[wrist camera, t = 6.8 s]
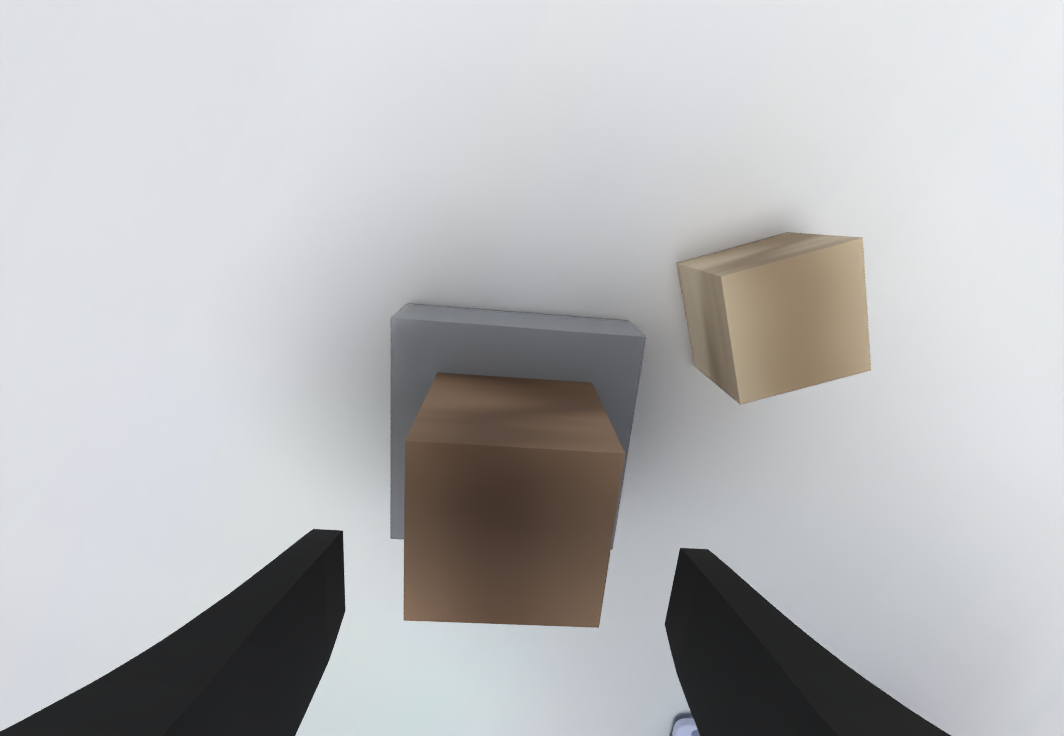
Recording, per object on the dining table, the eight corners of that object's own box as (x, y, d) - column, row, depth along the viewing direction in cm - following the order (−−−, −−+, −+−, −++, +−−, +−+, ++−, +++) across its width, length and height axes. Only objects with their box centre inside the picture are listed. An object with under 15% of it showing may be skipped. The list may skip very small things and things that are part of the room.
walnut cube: (592, 382, 16) (625, 453, 11) (575, 515, 18) (598, 627, 13) (437, 372, 16) (405, 440, 11) (433, 508, 17) (403, 620, 13)
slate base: (628, 320, 18) (645, 337, 16) (600, 510, 20) (612, 549, 18) (407, 303, 18) (390, 317, 15) (405, 500, 20) (390, 538, 18)
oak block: (786, 232, 18) (862, 237, 14) (797, 338, 19) (870, 370, 15) (675, 262, 18) (720, 276, 14) (694, 365, 19) (740, 404, 15)
